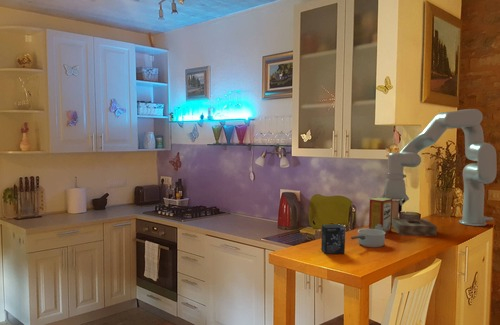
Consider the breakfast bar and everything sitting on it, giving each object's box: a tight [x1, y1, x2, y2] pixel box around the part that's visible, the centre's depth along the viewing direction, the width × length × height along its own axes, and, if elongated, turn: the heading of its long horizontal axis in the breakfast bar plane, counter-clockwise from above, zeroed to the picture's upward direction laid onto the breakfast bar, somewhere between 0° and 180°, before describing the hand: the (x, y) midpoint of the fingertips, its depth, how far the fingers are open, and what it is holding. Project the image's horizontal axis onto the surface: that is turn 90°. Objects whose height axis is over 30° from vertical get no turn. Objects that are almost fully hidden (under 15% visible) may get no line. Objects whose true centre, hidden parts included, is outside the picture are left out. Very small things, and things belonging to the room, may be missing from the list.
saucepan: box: [350, 228, 387, 248], centre depth 172 cm, size 12×20×6 cm, turn 133°
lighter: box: [375, 220, 391, 232], centre depth 189 cm, size 7×2×8 cm, turn 43°
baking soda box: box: [368, 196, 393, 234], centre depth 198 cm, size 10×6×16 cm
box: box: [320, 223, 346, 255], centre depth 163 cm, size 8×6×11 cm
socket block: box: [392, 218, 438, 237], centre depth 199 cm, size 16×16×4 cm
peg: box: [392, 200, 400, 224], centre depth 213 cm, size 4×4×12 cm
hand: (394, 212), depth 213 cm, fingers closed on peg, 4 cm apart
